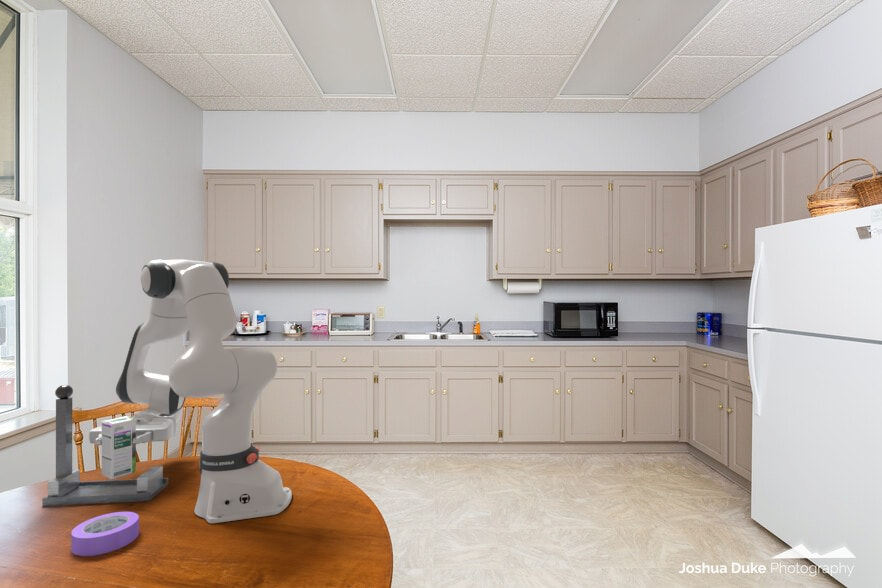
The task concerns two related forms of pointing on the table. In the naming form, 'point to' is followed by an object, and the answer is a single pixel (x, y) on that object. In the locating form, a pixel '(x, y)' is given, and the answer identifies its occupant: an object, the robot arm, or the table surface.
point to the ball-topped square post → (64, 446)
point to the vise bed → (114, 490)
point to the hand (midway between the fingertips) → (116, 441)
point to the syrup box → (118, 447)
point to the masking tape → (104, 533)
